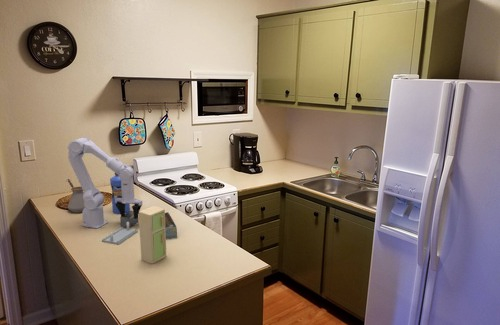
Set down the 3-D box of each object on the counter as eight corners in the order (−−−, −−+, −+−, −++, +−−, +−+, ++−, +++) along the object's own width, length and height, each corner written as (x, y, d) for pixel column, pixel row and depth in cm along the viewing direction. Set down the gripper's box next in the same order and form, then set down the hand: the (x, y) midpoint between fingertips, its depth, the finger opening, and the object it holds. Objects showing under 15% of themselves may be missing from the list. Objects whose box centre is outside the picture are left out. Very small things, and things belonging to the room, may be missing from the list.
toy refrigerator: (153, 265, 138) (151, 215, 133) (140, 260, 142) (138, 211, 137) (168, 257, 145) (166, 209, 140) (155, 252, 148) (153, 205, 144)
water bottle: (126, 214, 190) (123, 169, 184) (109, 214, 190) (106, 169, 184) (132, 208, 199) (130, 165, 193) (116, 208, 199) (113, 165, 193)
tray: (102, 241, 157) (101, 231, 156) (121, 229, 170) (121, 220, 169) (119, 244, 155) (118, 234, 154) (137, 232, 168) (137, 222, 167)
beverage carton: (160, 241, 160) (159, 227, 158) (153, 225, 177) (152, 213, 175) (177, 238, 163) (177, 225, 161) (169, 223, 180) (168, 211, 178)
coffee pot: (94, 210, 194) (91, 184, 191) (72, 215, 187) (69, 188, 183) (80, 201, 209) (78, 176, 206) (59, 205, 201) (56, 180, 198)
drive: (120, 228, 172) (120, 216, 171) (131, 221, 181) (131, 210, 179) (128, 229, 171) (127, 217, 170) (138, 222, 180) (138, 211, 178)
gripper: (110, 192, 170) (112, 218, 173) (135, 195, 166) (137, 221, 169) (119, 188, 177) (121, 213, 180) (144, 190, 173) (145, 216, 176)
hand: (129, 217), depth 175 cm, fingers open, 7 cm apart
